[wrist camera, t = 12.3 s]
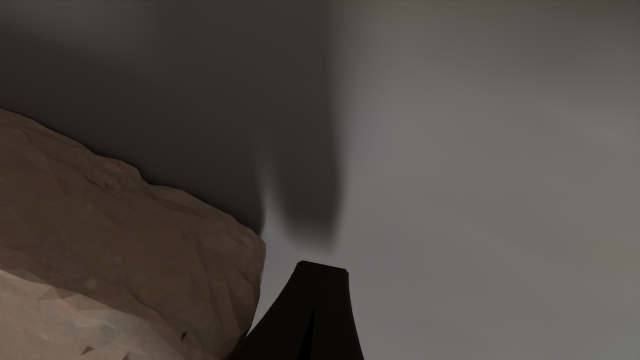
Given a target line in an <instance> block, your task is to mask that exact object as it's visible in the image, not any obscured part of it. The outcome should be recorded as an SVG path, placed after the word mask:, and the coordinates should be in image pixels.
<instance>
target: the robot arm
mask: <svg viewBox="0 0 640 360" xmlns="http://www.w3.org/2000/svg"><path fill="white" fill-rule="evenodd" d="M225 360H364V357H363V354H362V350H361V347H360V343H359V339H358V335H357V331H356V327H355V322H354V317H353V312H352V306H351V300H350V292H349V273H348V272H347V271H346V269H342V268H338V267H333V266H328V265H323V264H318V263H313V262H309V261H304V260H302V261H300V262H298V263H297V265H296V267H295V270H294V272H293V273H292V275H291V277H290V279H289V281H288V282H287V284H286V286H285V287H284V289H283V290H282V292H281V293H280V295H279V296H278V298H277V299H276V300H275V302H274V303H273V304H272V306H271V307H270V308H269V310H268V311H267V312H266V314H265V315H264V316H263V318H262V319H261V320H260V321H259V323H258V324H257V325H256V326H255V327H254V329H253V330H252V331H251V332H250V333H249V334H248V336H247V337H246V338H245V339H244V340H243V341H242V343H241V344H240V345H239V346H238V347H237V348H236V349H235V350H234V351H233V352H232V353H231V354H230V355H229V356H228V357H227V359H225Z"/></svg>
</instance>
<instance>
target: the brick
mask: <svg viewBox="0 0 640 360" xmlns="http://www.w3.org/2000/svg"><path fill="white" fill-rule="evenodd" d="M265 256H266V243H265V242H264V241H263V240H262V239H261V238H259V237H258V236H257V235H256V234H255V233H254V232H253V231H252V230H251V229H249V228H247V227H246V226H244V225H242V224H240V223H238V222H237V221H236V220H235V219H234V218H233V216H231V215H228V214H226V213H224V212H222V211H220V210H218V209H216V208H214V207H212V206H210V205H208V204H206V203H204V202H202V201H200V200H199V199H197V198H195V197H193V196H191V195H190V194H188V193H186V192H185V191H183V190H179V189H175V188H171V187H167V186H160V185H150V184H148V183H147V182H146V181H145V180H143V179H142V177H141V175H140V173H139V171H138V169H136V168H134V167H132V166H130V165H129V164H127V163H125V162H123V161H121V160H116V159H112V158H107V157H103V156H98V155H95V154H94V153H93V152H91V151H90V150H89V149H87V148H86V147H85V146H83V145H82V144H81V143H79V142H77V141H75V140H72V139H70V138H68V137H66V136H63V135H61V134H59V133H56V132H54V131H52V130H50V129H48V128H46V127H44V126H43V125H41V124H39V123H37V122H36V121H34V120H32V119H29V118H27V117H24V116H22V115H20V114H17V113H13V112H10V111H6V110H3V109H0V360H225V359H227V357H228V356H229V355H230V354H231V353H232V352H233V351H234V350H235V349H236V348H237V347H238V346H239V345H240V344H241V343H242V341H243V340H244V339H245V337H246V335H247V333H248V332H249V330H250V328H251V326H252V322H253V319H254V315H255V312H256V308H257V305H258V302H259V298H260V285H261V280H262V274H263V269H264V262H265Z"/></svg>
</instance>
